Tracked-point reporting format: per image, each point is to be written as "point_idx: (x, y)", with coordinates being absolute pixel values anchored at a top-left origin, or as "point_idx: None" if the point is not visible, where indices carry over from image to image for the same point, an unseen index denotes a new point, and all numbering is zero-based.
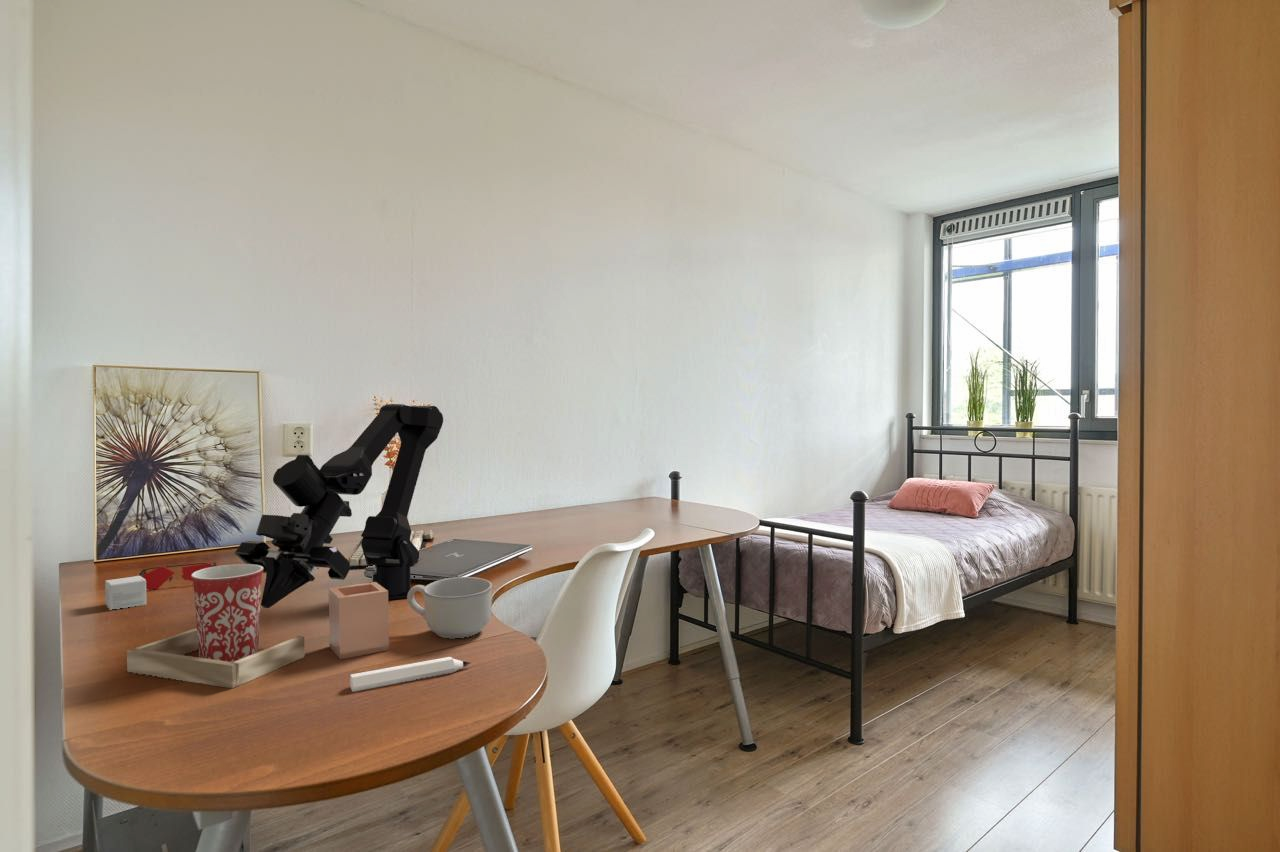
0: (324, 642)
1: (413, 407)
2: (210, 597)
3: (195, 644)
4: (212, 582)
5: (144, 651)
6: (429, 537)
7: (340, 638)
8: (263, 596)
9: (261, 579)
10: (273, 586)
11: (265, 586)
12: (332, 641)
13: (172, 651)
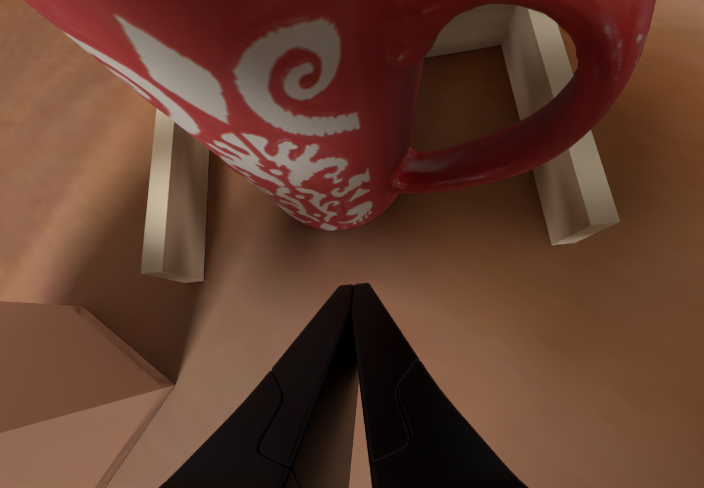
0: (218, 414)
1: None
2: None
3: (546, 182)
4: None
5: None
6: None
7: (14, 303)
8: (372, 304)
9: (36, 10)
10: (314, 354)
11: (395, 343)
12: (123, 363)
13: (528, 109)
